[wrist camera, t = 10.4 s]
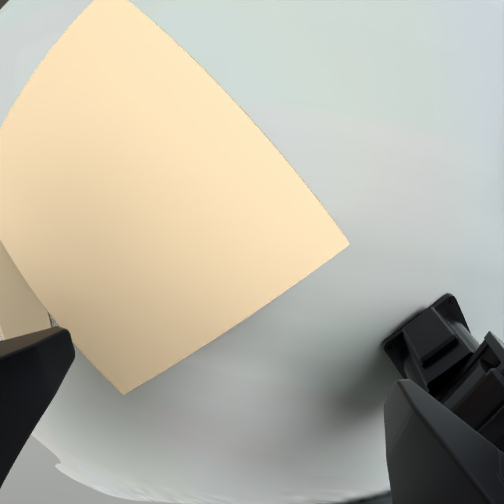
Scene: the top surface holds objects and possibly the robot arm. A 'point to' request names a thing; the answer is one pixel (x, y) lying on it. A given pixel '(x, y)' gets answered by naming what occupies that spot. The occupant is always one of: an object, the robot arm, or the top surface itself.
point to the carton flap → (18, 302)
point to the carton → (147, 198)
